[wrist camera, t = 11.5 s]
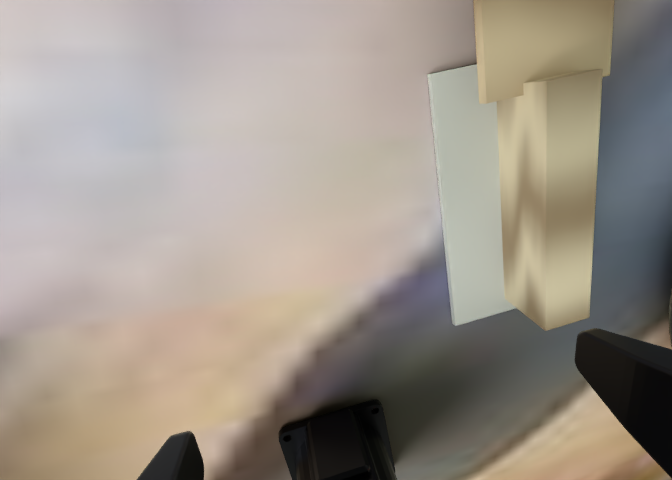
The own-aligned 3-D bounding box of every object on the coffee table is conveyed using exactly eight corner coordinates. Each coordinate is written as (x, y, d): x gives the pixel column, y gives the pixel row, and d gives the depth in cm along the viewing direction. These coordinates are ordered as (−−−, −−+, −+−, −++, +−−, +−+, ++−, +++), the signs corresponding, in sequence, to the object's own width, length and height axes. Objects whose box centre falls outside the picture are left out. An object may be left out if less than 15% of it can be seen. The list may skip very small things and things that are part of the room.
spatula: (568, 279, 23) (618, 308, 20) (477, 306, 23) (514, 340, 19) (580, -125, 16) (661, -181, 13) (448, -103, 16) (498, -157, 12)
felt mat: (585, 283, 24) (590, 286, 24) (452, 322, 23) (455, 326, 23) (597, 38, 19) (604, 36, 19) (427, 74, 18) (430, 74, 18)
